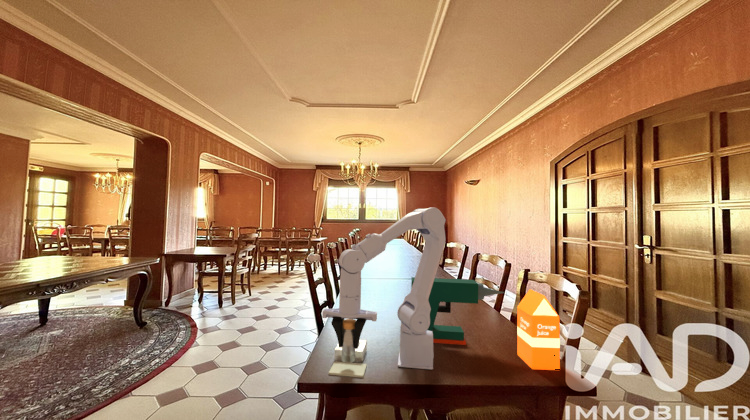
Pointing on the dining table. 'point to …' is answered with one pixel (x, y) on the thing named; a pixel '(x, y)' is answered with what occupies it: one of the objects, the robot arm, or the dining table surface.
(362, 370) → the key mat
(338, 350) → the block
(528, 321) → the orange juice
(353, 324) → the orange capped bottle
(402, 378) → the dining table surface
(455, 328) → the power tool
